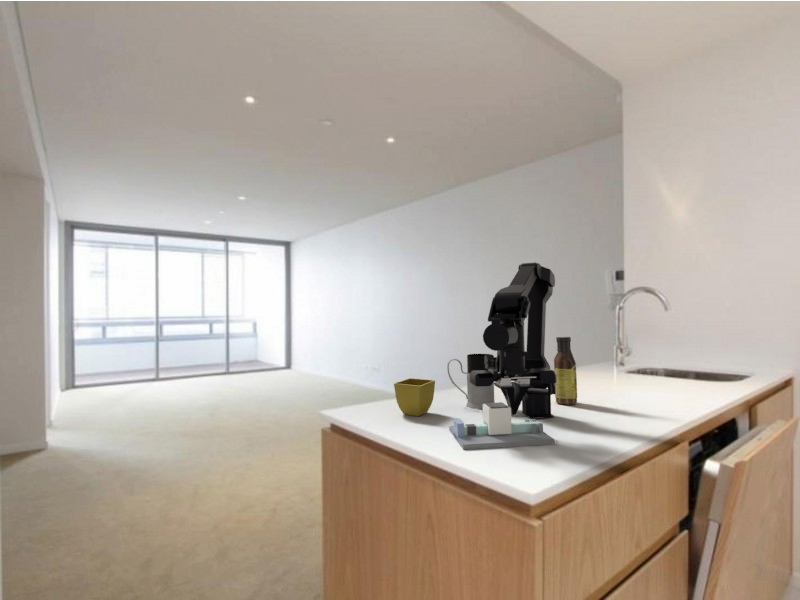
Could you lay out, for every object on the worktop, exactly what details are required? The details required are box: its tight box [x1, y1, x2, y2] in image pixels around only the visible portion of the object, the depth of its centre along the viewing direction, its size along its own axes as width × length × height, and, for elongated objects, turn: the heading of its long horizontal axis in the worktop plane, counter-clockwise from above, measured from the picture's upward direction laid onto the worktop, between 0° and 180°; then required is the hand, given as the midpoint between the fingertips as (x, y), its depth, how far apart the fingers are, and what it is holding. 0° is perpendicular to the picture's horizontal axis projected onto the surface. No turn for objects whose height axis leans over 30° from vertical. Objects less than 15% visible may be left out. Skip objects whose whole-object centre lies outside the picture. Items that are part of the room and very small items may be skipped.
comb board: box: [448, 418, 556, 450], centre depth 98 cm, size 20×14×4 cm
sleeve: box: [482, 401, 512, 435], centre depth 98 cm, size 5×5×6 cm
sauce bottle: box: [553, 336, 578, 406], centre depth 129 cm, size 6×6×20 cm
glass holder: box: [446, 353, 496, 410], centre depth 129 cm, size 9×14×15 cm, turn 74°
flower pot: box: [393, 377, 436, 417], centre depth 120 cm, size 9×9×9 cm
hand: (513, 414), depth 98 cm, fingers closed
